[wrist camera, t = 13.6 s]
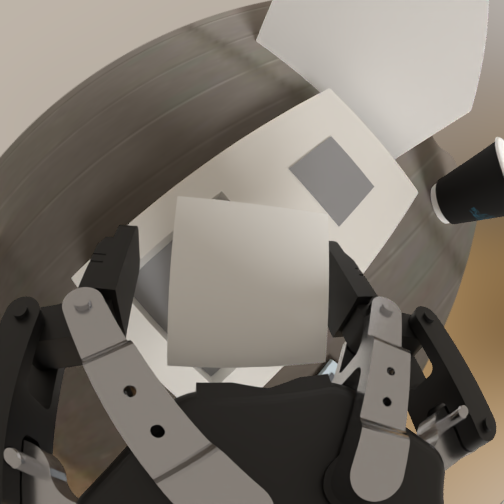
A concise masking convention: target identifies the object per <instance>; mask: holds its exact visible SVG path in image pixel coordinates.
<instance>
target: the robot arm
mask: <svg viewBox="0 0 504 504" xmlns="http://www.w3.org/2000/svg"><path fill="white" fill-rule="evenodd" d="M139 269H140V251H139V230H138V226H131V225H119V227H118V229H117V231H116V233H115V235H114V237H105V238H104V239H103V240H102V241H101V242H100V243H98V245H97V247H96V249H95V251H94V253H93V255H92V257H91V259H90V262H89V264H88V266H87V268H86V270H85V272H84V275H83V277H82V279H81V282H80V284H79V287H78V288H77V289H75V290H73V291H71V292H70V293H69V294H67V296H66V297H65V298H64V300H63V303H61V304H58V305H53V306H47V307H41V308H40V307H39V304H38V302H37V301H36V300H35V299H34V298H31V297H21V298H18V299H16V300H14V301H13V302H12V303H11V304H10V305H9V306H8V308H7V309H6V311H5V313H4V316H3V318H2V320H1V322H0V504H444V500H443V486H444V475H445V470H447V469H448V468H449V467H451V466H452V465H453V464H455V463H456V462H457V461H458V460H460V459H461V458H463V457H465V456H467V455H469V454H470V453H472V452H474V451H476V450H477V449H478V448H479V447H481V446H483V445H485V444H486V443H488V442H489V441H491V440H492V439H493V438H494V436H495V434H496V422H495V419H494V417H493V415H492V412H491V411H490V408H489V406H488V404H487V402H486V400H485V398H484V396H483V394H482V392H481V390H480V388H479V386H478V384H477V382H476V380H475V378H474V377H473V375H472V373H471V371H470V369H469V367H468V366H467V364H466V362H465V360H464V359H463V357H462V355H461V354H460V352H459V350H458V349H457V347H456V345H455V344H454V342H453V341H452V339H451V338H450V336H449V334H448V333H447V331H446V330H445V328H444V326H443V325H442V323H441V322H440V320H439V319H438V317H437V316H436V315H435V314H434V313H433V312H432V311H431V310H430V309H428V308H426V307H422V306H420V307H417V308H416V310H415V311H414V312H413V314H412V315H409V314H405V313H401V311H400V309H399V307H398V306H397V305H396V304H395V303H394V302H393V301H391V300H390V299H388V298H385V297H378V296H377V295H376V293H375V291H374V290H373V288H372V287H371V285H370V284H369V282H368V281H367V279H366V278H365V276H363V273H362V272H361V270H359V267H358V266H357V264H356V263H355V261H354V260H353V259H352V258H351V257H349V256H348V255H347V254H346V253H345V252H344V251H343V250H342V248H341V247H340V245H339V244H338V243H337V242H336V241H329V302H328V327H329V330H330V332H331V334H332V337H344V338H345V340H346V341H345V343H344V344H343V346H342V350H341V354H340V358H339V361H338V365H337V368H336V372H335V375H334V378H333V381H332V383H331V381H330V378H329V375H328V374H323V375H315V376H308V377H299V378H297V379H294V380H292V381H289V382H286V383H283V384H281V385H278V386H275V387H272V388H262V387H255V386H249V385H244V384H238V383H233V382H220V383H199V382H196V391H195V392H191V393H187V394H184V395H182V396H179V397H177V398H175V399H173V398H172V397H171V396H170V394H169V393H168V392H167V390H166V389H165V388H164V386H163V385H162V384H161V382H160V381H159V379H158V378H157V377H156V375H155V374H154V372H153V371H152V370H151V368H150V367H149V365H148V364H147V362H146V361H145V359H144V358H143V356H142V355H141V353H140V352H139V350H138V349H137V347H136V346H135V344H134V343H133V342H132V341H131V340H129V341H128V340H127V339H126V335H127V329H128V323H129V318H130V312H131V307H132V302H133V297H134V293H135V288H136V284H137V279H138V275H139ZM422 347H423V349H424V350H425V352H426V354H427V356H428V358H429V359H430V361H431V363H432V366H433V370H432V373H431V375H430V376H429V377H428V378H427V379H426V378H425V376H424V374H423V372H422V370H421V368H420V366H419V364H418V363H417V361H416V359H415V357H414V356H415V355H416V353H417V352H418V351H419V350H420V349H421V348H422ZM79 365H83V366H84V369H85V371H86V373H87V375H88V377H89V379H90V381H91V383H92V385H93V387H94V389H95V391H96V393H97V395H98V397H99V399H100V401H101V402H102V404H103V406H104V408H105V410H106V411H107V413H108V415H109V417H110V418H111V420H112V422H113V423H114V425H115V426H116V428H117V430H118V431H119V433H120V434H121V436H122V437H123V439H124V440H125V442H126V443H127V445H128V446H127V447H126V448H125V449H124V450H123V451H122V452H121V453H120V454H119V456H118V457H117V458H116V459H115V460H114V461H113V462H112V463H111V464H110V465H109V467H108V468H107V469H106V470H105V471H104V472H103V473H102V474H101V475H100V476H99V477H98V478H97V479H96V480H95V482H94V483H93V484H92V485H91V486H90V487H89V488H88V489H87V490H86V491H85V492H84V493H83V494H82V495H81V496H80V498H79V499H78V498H77V497H76V496H75V495H74V494H73V493H72V491H71V490H70V488H69V486H68V483H67V479H66V473H65V470H64V468H63V466H62V464H61V463H60V461H59V460H58V459H57V458H56V457H55V456H53V455H52V453H53V440H54V430H55V421H56V414H57V407H58V401H59V395H60V389H61V384H62V379H63V374H64V370H65V368H66V367H73V366H79ZM407 411H408V412H409V415H410V416H411V419H412V422H413V424H414V426H415V429H416V432H417V435H416V434H415V433H413V432H412V431H411V430H409V429H408V428H406V419H407Z"/></svg>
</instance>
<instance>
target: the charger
mask: <svg viewBox="0 0 504 504" xmlns="http://www.w3.org/2000/svg"><path fill="white" fill-rule="evenodd" d="M328 302H329V233H328V214H323V213H317V212H310V211H303V210H296V209H289V208H282V207H275V206H267V205H259V204H251V203H242V202H234V201H225V200H215V199H205V198H195V197H184V196H177V204H176V212H175V221H174V231H173V241H172V253H171V266H170V281H169V300H168V330H167V366H181V367H208V368H245V367H273V366H289V365H302V364H313V363H322V362H326V347H327V329H328Z"/></svg>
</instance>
